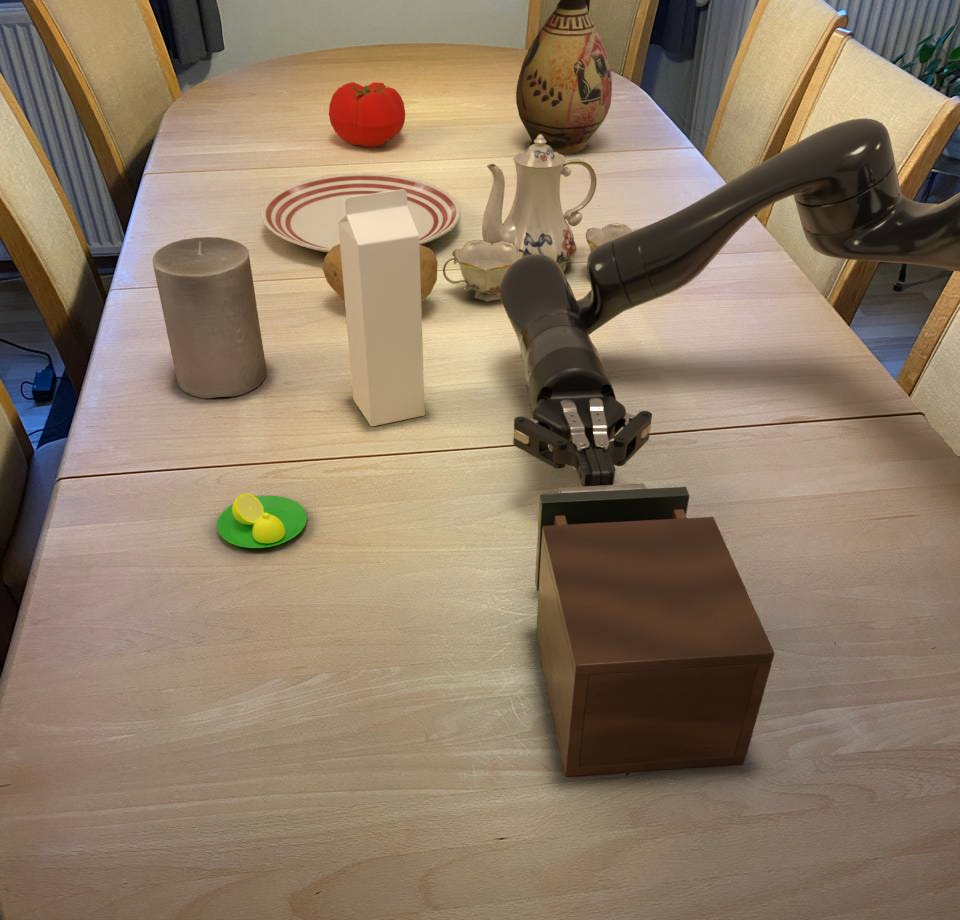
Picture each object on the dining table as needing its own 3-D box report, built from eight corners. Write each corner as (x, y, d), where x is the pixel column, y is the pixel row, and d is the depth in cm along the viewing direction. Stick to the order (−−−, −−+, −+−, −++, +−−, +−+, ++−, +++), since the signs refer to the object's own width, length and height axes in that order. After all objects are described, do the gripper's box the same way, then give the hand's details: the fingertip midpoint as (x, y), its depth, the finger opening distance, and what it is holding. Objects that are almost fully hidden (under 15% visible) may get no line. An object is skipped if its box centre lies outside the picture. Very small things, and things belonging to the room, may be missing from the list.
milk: (425, 416, 107) (420, 200, 92) (370, 428, 105) (355, 209, 90) (404, 389, 111) (396, 178, 96) (351, 399, 109) (334, 186, 94)
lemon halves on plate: (200, 541, 91) (194, 515, 89) (247, 493, 97) (243, 468, 95) (279, 562, 89) (275, 536, 87) (323, 512, 94) (320, 486, 92)
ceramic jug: (579, 167, 164) (594, -57, 144) (497, 150, 170) (501, -68, 150) (627, 139, 174) (648, -73, 154) (549, 123, 180) (559, -83, 160)
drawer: (528, 551, 89) (532, 463, 83) (659, 544, 90) (673, 456, 84) (559, 699, 76) (567, 608, 70) (713, 689, 77) (734, 598, 71)
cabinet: (535, 634, 82) (542, 525, 75) (692, 624, 83) (713, 516, 76) (565, 777, 71) (576, 665, 64) (744, 763, 72) (775, 652, 65)
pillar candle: (223, 349, 118) (200, 216, 108) (285, 373, 114) (267, 238, 103) (158, 382, 112) (127, 246, 102) (221, 409, 108) (195, 270, 98)
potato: (339, 286, 130) (334, 223, 125) (447, 297, 128) (446, 233, 123) (314, 320, 123) (307, 254, 118) (428, 331, 121) (426, 265, 116)
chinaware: (468, 331, 125) (474, 195, 112) (417, 265, 135) (418, 135, 122) (665, 292, 133) (691, 162, 121) (604, 233, 143) (622, 108, 131)
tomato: (427, 142, 173) (425, 85, 167) (371, 160, 166) (367, 101, 160) (372, 124, 180) (368, 68, 174) (316, 141, 173) (310, 83, 167)
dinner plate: (499, 241, 141) (499, 217, 139) (322, 288, 130) (319, 262, 128) (396, 183, 158) (395, 160, 156) (231, 220, 147) (228, 196, 144)
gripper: (498, 348, 94) (522, 449, 82) (639, 342, 95) (685, 441, 83) (497, 419, 99) (519, 525, 87) (631, 413, 100) (673, 517, 88)
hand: (600, 484), depth 85 cm, fingers closed
